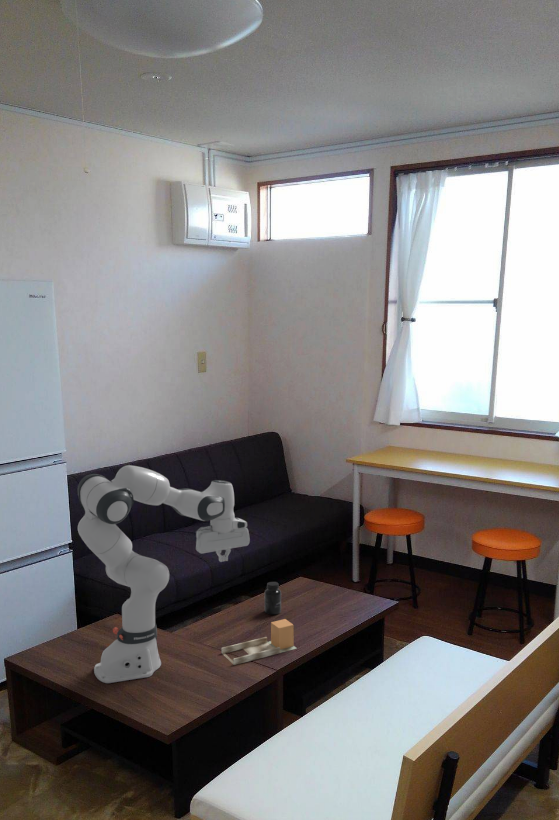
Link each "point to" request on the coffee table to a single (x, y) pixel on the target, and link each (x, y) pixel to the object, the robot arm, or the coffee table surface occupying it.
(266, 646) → the chute
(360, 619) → the coffee table surface
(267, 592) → the supplement bottle
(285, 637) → the orange block
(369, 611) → the coffee table surface
